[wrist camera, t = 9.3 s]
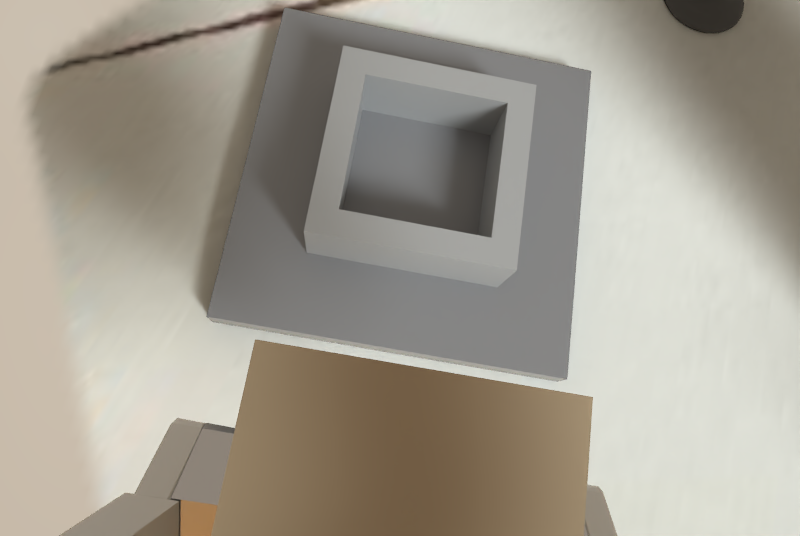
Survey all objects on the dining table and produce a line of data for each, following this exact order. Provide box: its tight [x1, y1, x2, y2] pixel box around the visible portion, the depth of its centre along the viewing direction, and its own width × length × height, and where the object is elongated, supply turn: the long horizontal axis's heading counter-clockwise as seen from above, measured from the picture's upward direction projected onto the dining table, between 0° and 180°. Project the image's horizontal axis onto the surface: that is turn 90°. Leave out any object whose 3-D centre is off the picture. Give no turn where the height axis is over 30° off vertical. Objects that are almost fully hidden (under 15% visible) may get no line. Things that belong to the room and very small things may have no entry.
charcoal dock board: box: [207, 8, 591, 381], centre depth 27 cm, size 16×16×4 cm
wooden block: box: [211, 340, 593, 536], centre depth 11 cm, size 4×4×8 cm
